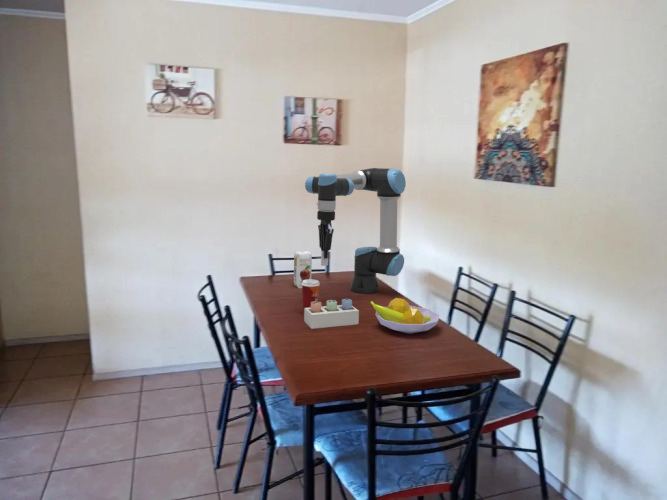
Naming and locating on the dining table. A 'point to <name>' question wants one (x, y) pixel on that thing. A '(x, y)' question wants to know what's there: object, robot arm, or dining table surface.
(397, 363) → the dining table surface
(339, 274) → the dining table surface
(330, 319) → the panel
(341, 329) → the dining table surface
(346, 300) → the button one
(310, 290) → the coffee cup
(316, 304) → the button three
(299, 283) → the juice carton
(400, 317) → the fruit bowl
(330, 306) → the button two
